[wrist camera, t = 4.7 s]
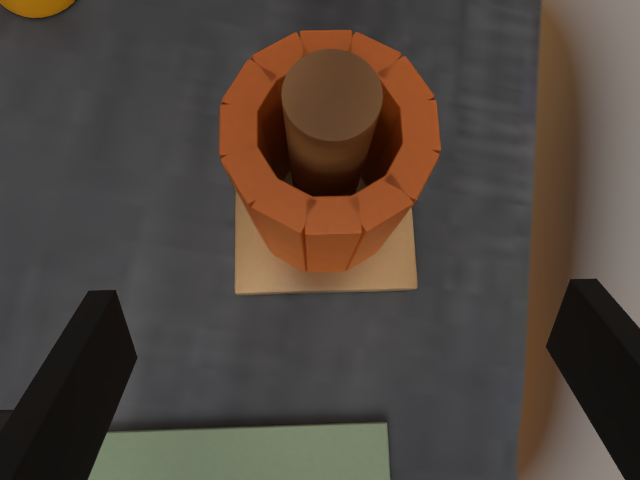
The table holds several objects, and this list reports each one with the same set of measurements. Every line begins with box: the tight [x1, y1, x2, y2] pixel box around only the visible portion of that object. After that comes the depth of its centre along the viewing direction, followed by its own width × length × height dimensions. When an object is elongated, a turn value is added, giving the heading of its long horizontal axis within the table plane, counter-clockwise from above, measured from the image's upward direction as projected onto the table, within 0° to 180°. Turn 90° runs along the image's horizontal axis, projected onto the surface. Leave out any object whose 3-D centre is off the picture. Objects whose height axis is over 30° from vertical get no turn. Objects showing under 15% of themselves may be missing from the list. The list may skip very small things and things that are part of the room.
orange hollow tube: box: [219, 30, 441, 273], centre depth 21 cm, size 8×8×10 cm
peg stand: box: [235, 49, 418, 295], centre depth 21 cm, size 10×10×13 cm
